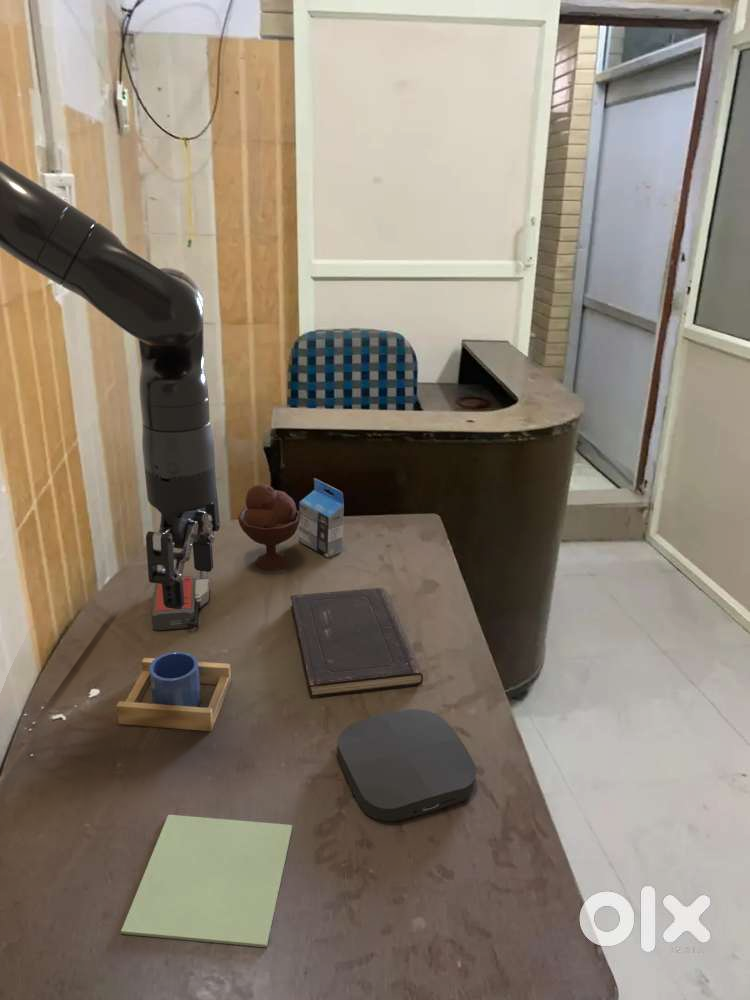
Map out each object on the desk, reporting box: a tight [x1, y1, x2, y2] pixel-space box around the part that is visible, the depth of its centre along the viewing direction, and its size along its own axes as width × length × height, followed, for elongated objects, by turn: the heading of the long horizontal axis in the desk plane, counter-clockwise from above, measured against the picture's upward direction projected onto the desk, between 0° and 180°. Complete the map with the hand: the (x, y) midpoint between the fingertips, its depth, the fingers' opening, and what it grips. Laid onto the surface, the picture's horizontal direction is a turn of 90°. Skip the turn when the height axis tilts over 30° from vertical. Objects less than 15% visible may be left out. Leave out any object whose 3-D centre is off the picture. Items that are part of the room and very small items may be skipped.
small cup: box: [149, 650, 202, 707], centre depth 101 cm, size 6×6×6 cm
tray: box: [115, 657, 232, 732], centre depth 102 cm, size 12×10×3 cm
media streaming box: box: [336, 708, 477, 822], centre depth 92 cm, size 15×15×3 cm
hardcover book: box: [289, 587, 424, 699], centre depth 115 cm, size 16×23×2 cm
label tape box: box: [298, 477, 345, 558], centre depth 141 cm, size 9×4×12 cm, turn 43°
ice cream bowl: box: [237, 483, 301, 571], centre depth 134 cm, size 11×11×15 cm
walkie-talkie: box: [151, 571, 210, 631], centre depth 125 cm, size 9×4×20 cm
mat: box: [120, 814, 293, 948], centre depth 78 cm, size 14×14×1 cm
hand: (189, 587), depth 90 cm, fingers open, 8 cm apart
